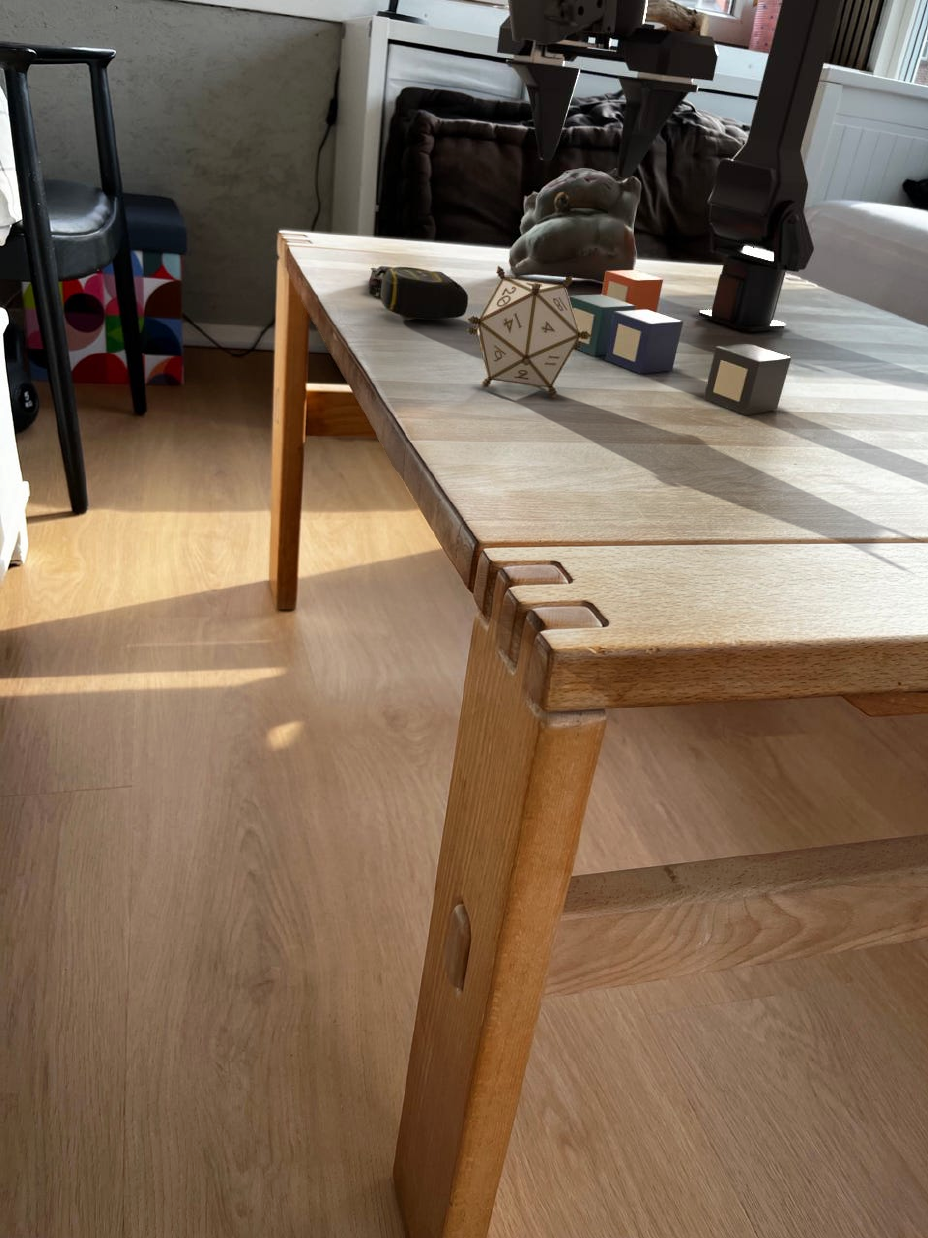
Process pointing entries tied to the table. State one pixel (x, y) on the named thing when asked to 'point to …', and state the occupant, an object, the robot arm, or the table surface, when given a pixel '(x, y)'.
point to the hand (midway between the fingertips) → (583, 168)
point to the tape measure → (422, 294)
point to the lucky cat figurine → (578, 227)
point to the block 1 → (596, 320)
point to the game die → (527, 332)
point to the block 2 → (643, 341)
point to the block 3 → (746, 378)
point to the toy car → (377, 279)
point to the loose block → (633, 288)
